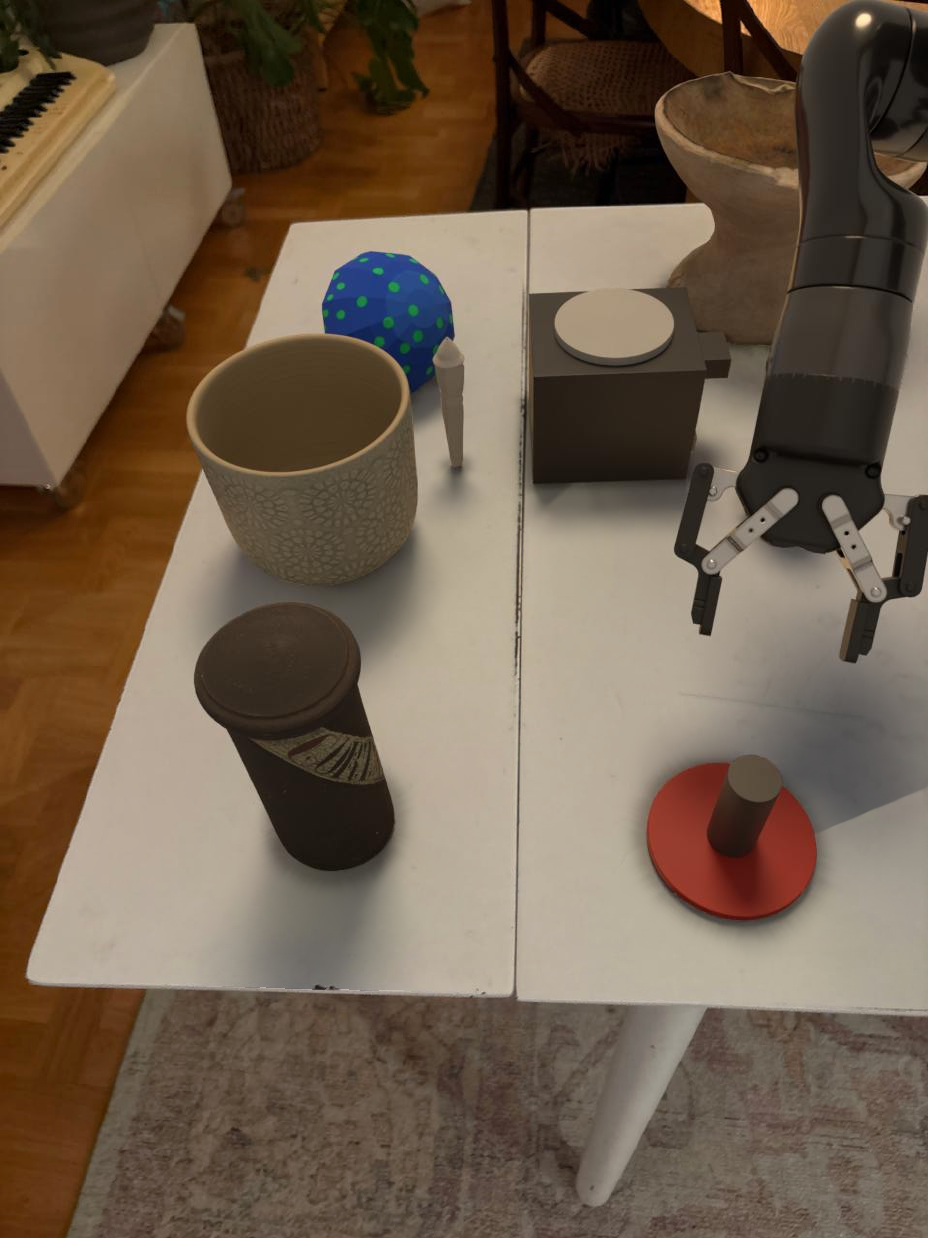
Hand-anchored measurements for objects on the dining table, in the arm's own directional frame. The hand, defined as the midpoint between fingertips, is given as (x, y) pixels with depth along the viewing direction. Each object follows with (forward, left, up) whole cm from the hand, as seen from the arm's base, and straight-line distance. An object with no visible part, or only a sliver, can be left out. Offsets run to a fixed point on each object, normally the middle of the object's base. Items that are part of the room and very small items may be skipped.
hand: (775, 647), depth 56 cm
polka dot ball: (+28, -45, -12) cm, 54 cm away
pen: (+21, -31, -12) cm, 39 cm away
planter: (+32, -22, -12) cm, 41 cm away
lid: (+2, +7, -12) cm, 14 cm away
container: (+29, +5, -12) cm, 32 cm away
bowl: (-11, -56, -12) cm, 58 cm away
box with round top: (+5, -34, -12) cm, 36 cm away
